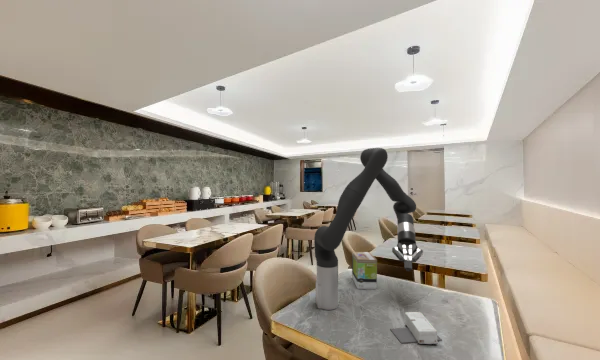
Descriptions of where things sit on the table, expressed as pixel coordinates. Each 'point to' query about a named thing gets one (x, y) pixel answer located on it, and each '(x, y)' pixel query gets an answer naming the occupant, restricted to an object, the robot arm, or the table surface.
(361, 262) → the tea box
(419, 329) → the skincare box
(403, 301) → the table surface
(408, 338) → the mat
